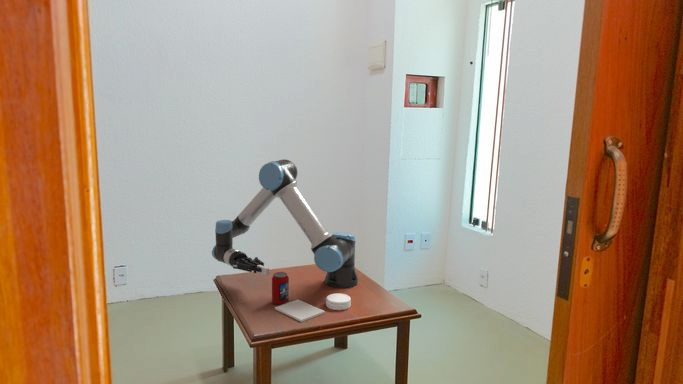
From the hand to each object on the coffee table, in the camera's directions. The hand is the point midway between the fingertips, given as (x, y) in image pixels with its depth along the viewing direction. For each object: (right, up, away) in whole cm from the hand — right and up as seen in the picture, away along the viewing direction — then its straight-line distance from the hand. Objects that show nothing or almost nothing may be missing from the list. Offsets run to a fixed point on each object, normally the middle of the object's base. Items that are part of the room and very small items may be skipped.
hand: (267, 271), depth 202 cm
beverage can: (+6, -12, -4) cm, 14 cm away
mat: (+14, -13, -12) cm, 23 cm away
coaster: (+29, -13, -5) cm, 33 cm away
